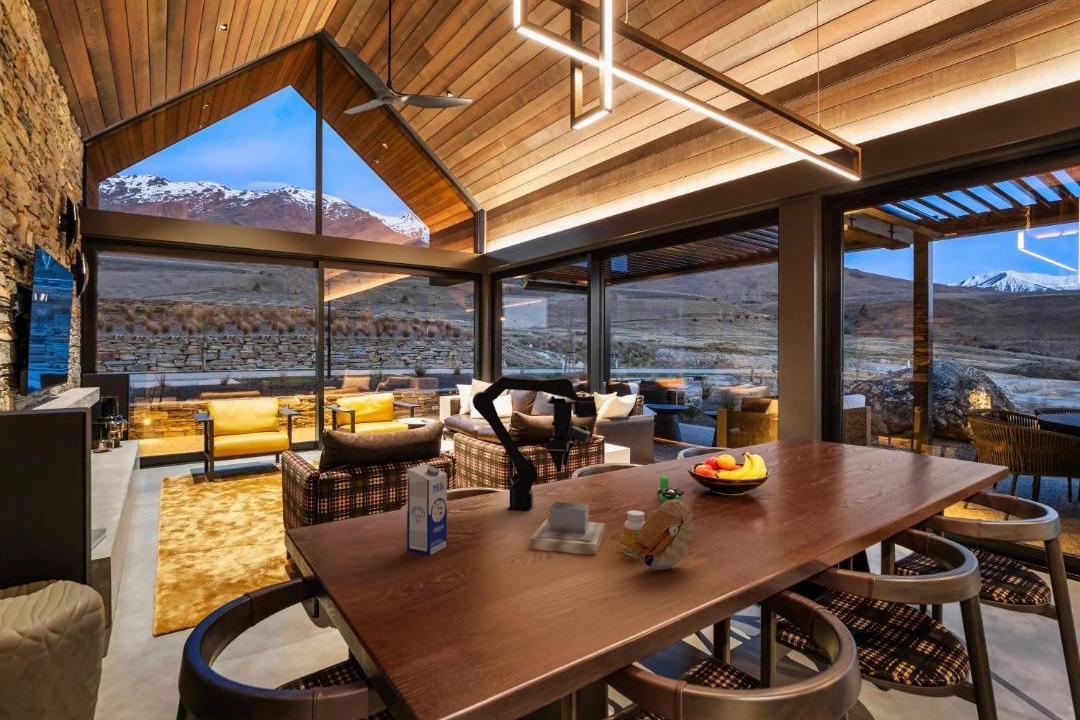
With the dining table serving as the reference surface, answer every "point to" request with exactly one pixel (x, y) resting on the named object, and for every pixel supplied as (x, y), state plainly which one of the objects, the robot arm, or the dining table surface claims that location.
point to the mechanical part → (665, 485)
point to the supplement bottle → (633, 529)
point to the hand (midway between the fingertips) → (562, 468)
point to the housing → (569, 517)
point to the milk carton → (426, 510)
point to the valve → (671, 493)
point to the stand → (568, 539)
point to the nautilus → (664, 536)
